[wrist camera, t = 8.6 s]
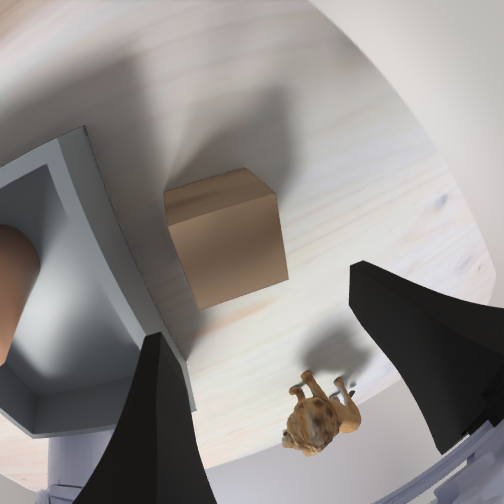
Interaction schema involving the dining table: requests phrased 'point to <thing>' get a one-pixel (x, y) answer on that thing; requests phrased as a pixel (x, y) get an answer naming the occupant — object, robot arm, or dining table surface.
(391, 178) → the dining table surface
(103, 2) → the dining table surface
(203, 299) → the walnut block
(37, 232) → the tote
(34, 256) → the terracotta cylinder
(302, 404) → the lion figurine
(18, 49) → the dining table surface
